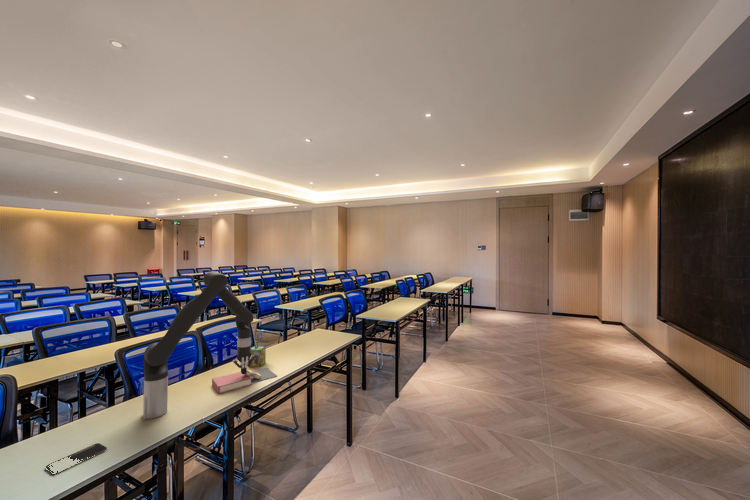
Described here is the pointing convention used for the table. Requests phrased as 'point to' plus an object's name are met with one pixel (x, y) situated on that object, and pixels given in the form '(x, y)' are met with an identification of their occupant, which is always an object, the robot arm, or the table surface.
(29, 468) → the table surface
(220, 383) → the book deck
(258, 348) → the chalk box
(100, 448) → the phone
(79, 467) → the table surface
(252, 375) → the block
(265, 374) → the desk mat
